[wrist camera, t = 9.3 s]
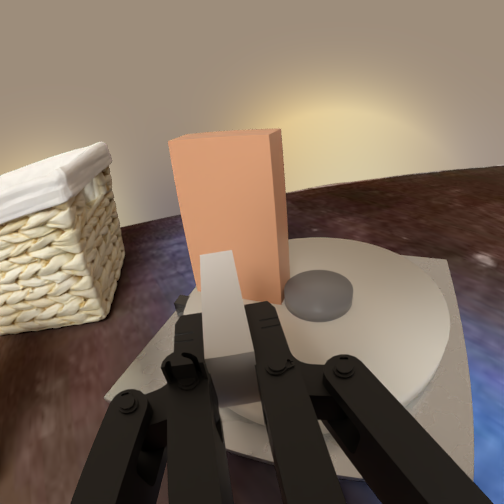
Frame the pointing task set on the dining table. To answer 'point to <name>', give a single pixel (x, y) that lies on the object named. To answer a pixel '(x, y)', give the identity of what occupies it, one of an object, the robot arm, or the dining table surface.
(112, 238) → the storage basket
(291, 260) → the dial
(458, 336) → the base plate
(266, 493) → the dining table surface
